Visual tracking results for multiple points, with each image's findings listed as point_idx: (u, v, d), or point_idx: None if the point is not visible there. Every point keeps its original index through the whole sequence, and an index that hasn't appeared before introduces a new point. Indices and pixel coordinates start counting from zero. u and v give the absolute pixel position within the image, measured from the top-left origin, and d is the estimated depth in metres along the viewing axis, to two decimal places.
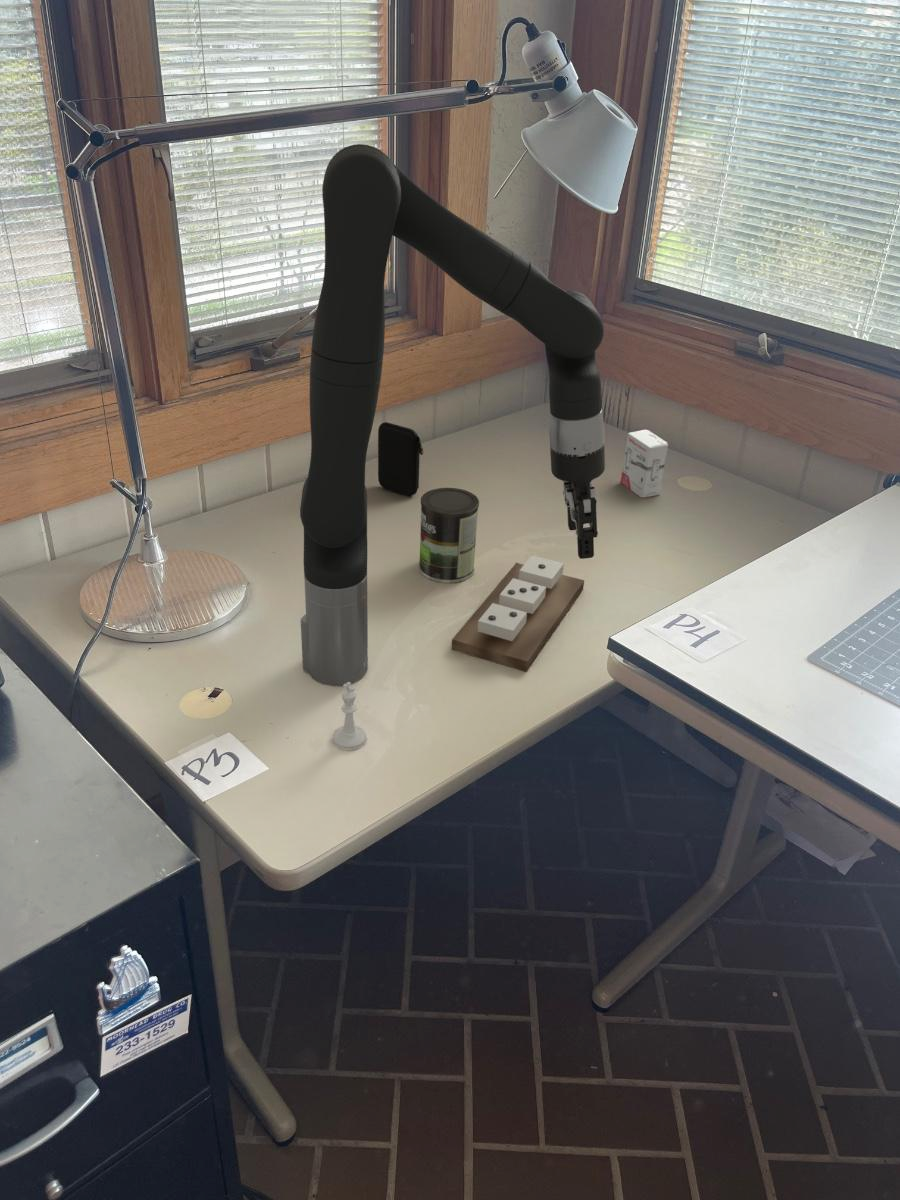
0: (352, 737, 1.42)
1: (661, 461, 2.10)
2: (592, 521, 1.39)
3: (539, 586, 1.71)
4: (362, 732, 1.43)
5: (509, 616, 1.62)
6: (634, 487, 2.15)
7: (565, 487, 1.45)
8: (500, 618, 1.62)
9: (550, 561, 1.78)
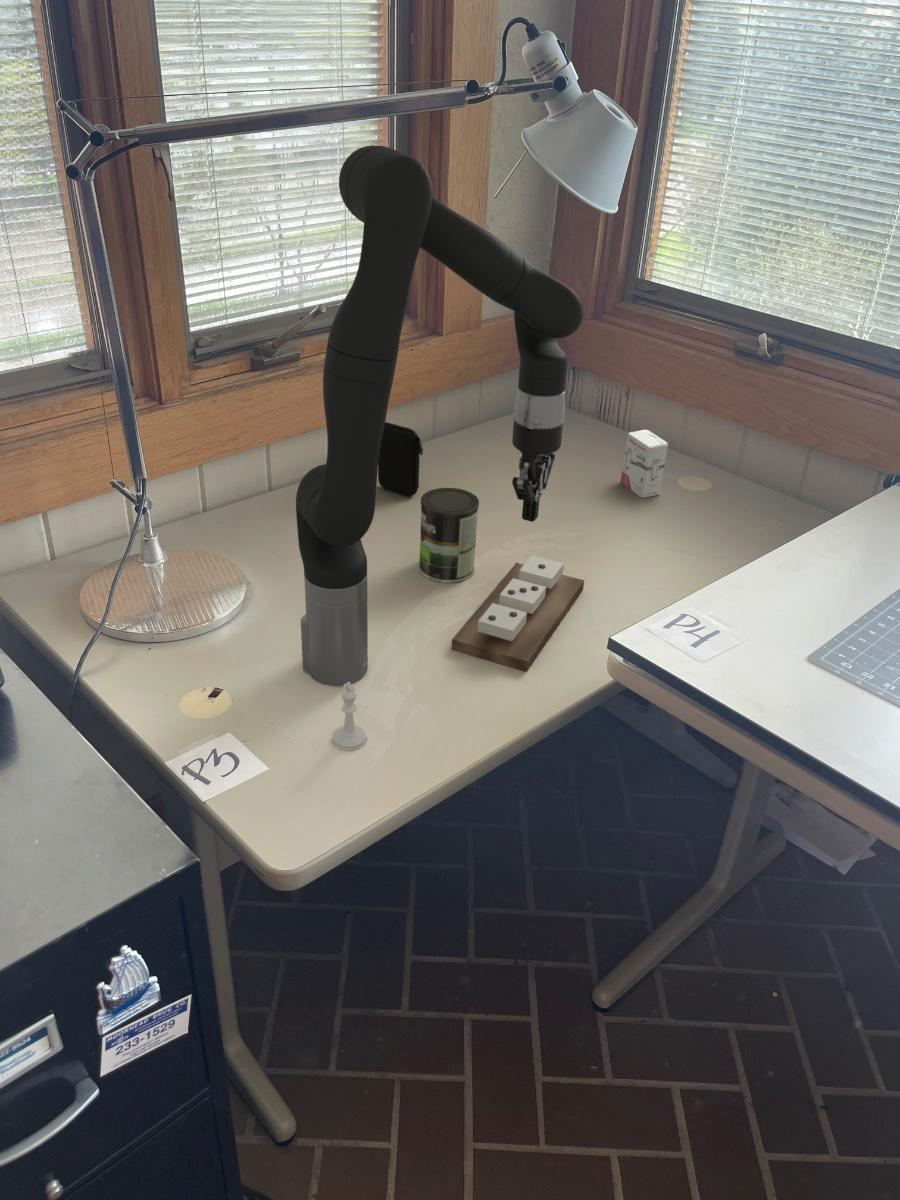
0: (352, 737, 1.42)
1: (661, 461, 2.10)
2: (526, 494, 1.55)
3: (539, 586, 1.71)
4: (362, 732, 1.43)
5: (509, 616, 1.62)
6: (634, 487, 2.15)
7: None
8: (500, 618, 1.62)
9: (550, 561, 1.78)
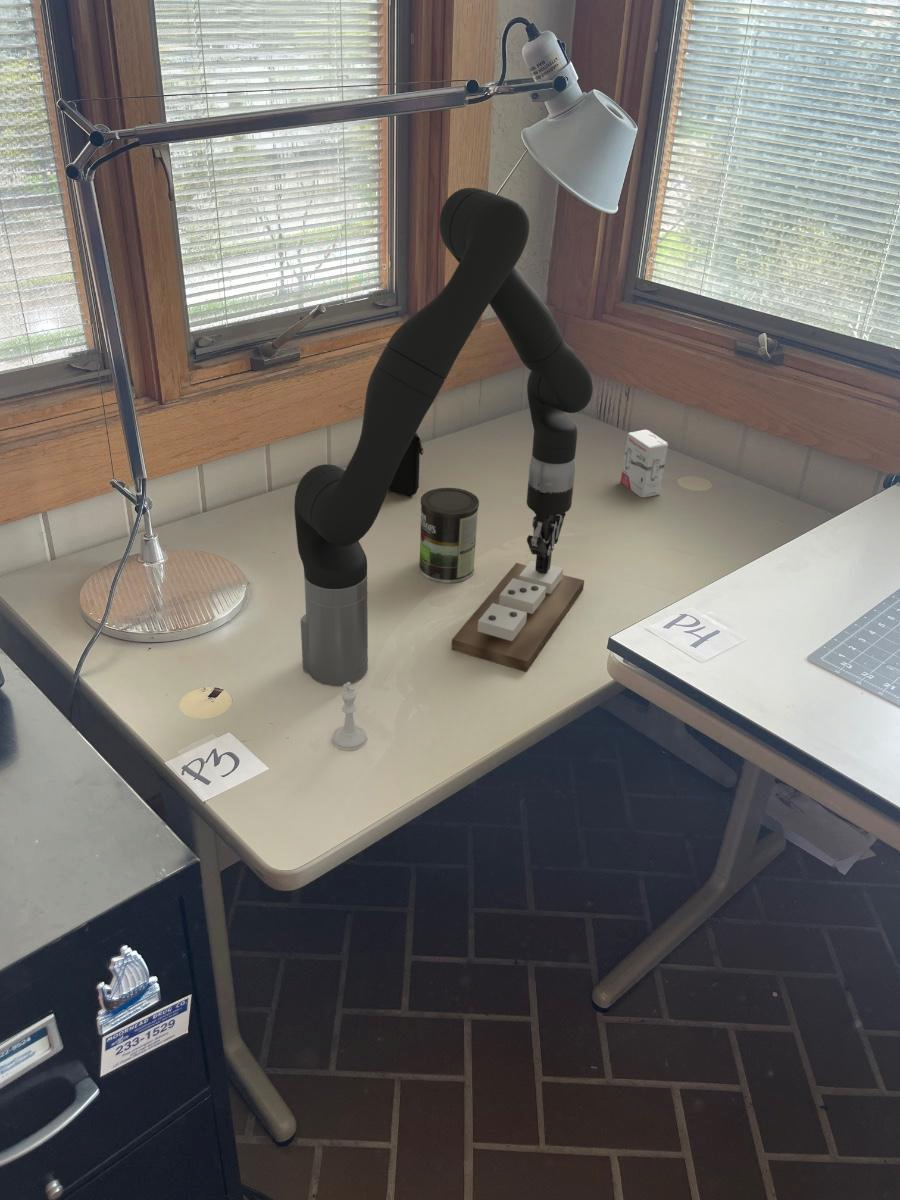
0: (352, 737, 1.42)
1: (661, 461, 2.10)
2: (539, 551, 1.70)
3: (539, 586, 1.71)
4: (362, 732, 1.43)
5: (509, 616, 1.62)
6: (634, 487, 2.15)
7: None
8: (500, 618, 1.62)
9: None
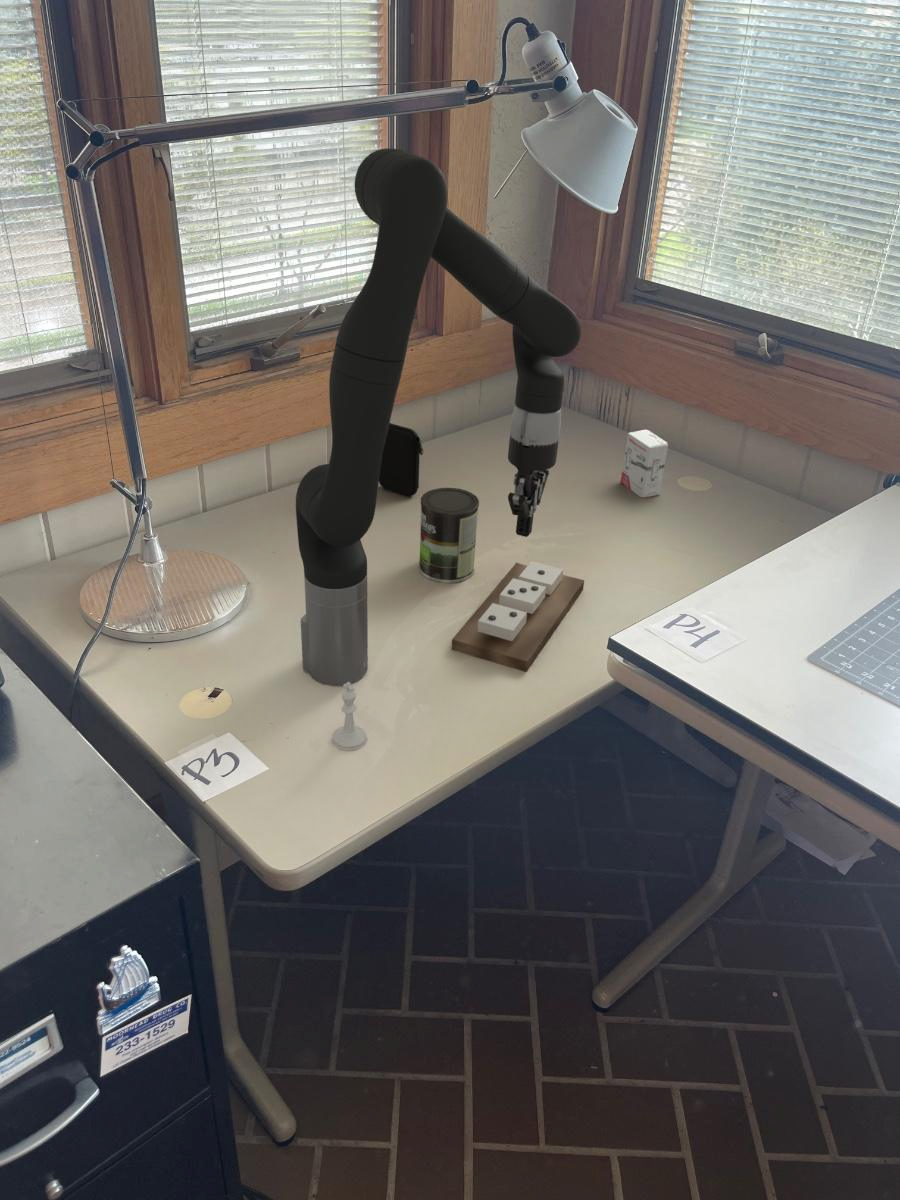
0: (352, 737, 1.42)
1: (661, 461, 2.10)
2: (521, 510, 1.57)
3: (539, 586, 1.71)
4: (362, 732, 1.43)
5: (509, 616, 1.62)
6: (635, 487, 2.15)
7: None
8: (500, 618, 1.62)
9: (549, 566, 1.79)
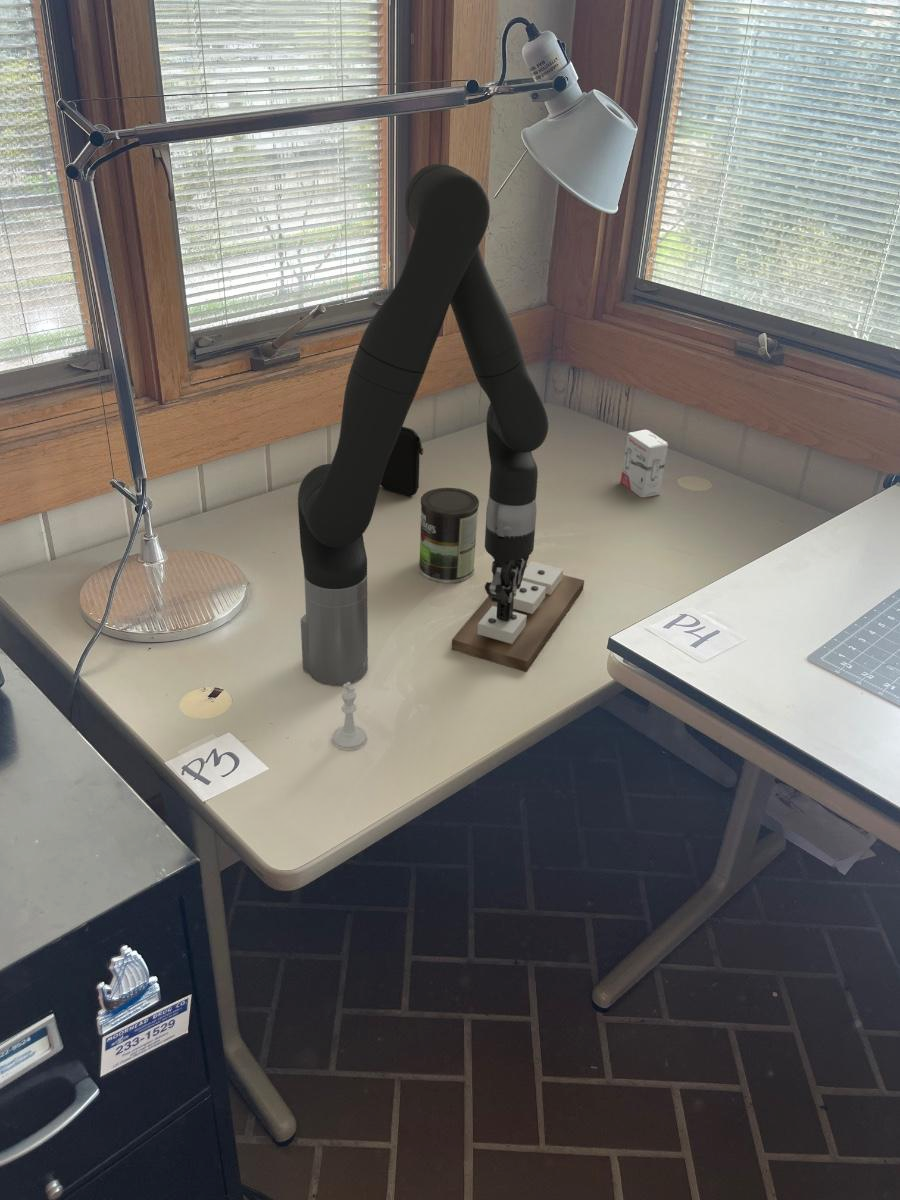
0: (352, 737, 1.42)
1: (661, 461, 2.10)
2: (499, 598, 1.56)
3: (539, 586, 1.71)
4: (362, 732, 1.43)
5: None
6: (634, 487, 2.15)
7: None
8: (500, 621, 1.62)
9: (549, 566, 1.79)
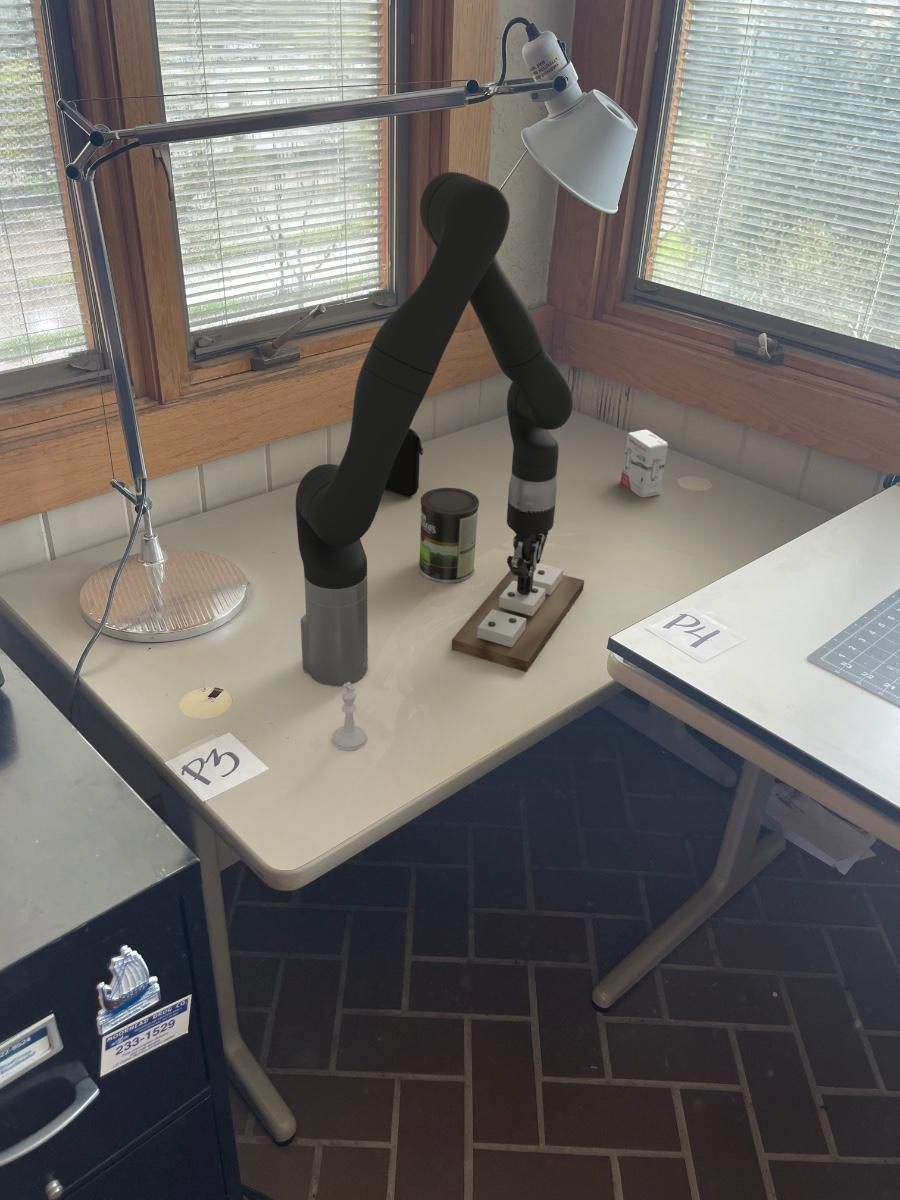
0: (352, 737, 1.42)
1: (661, 461, 2.10)
2: (520, 572, 1.62)
3: (539, 588, 1.71)
4: (362, 732, 1.43)
5: (508, 622, 1.63)
6: (634, 487, 2.15)
7: None
8: (500, 625, 1.62)
9: (549, 566, 1.79)
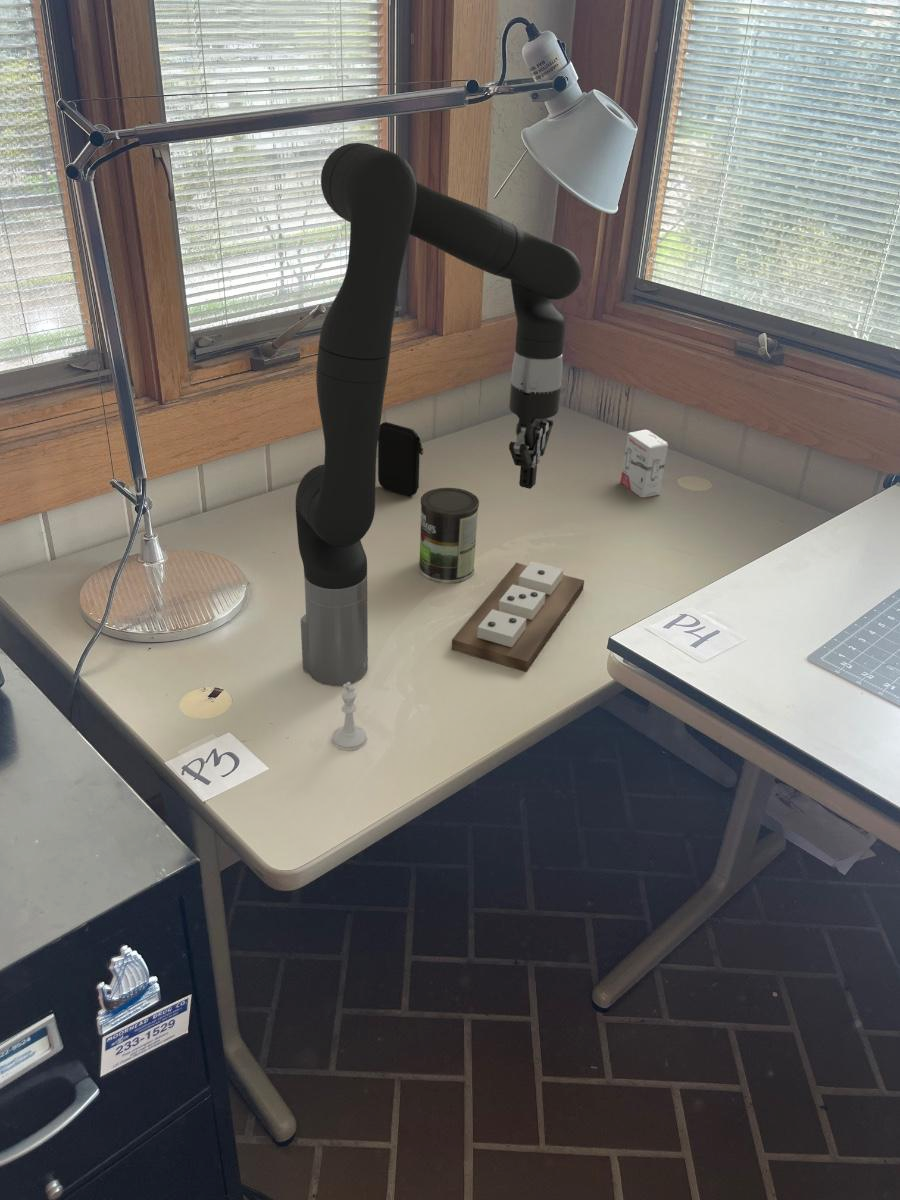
0: (352, 737, 1.42)
1: (661, 461, 2.10)
2: (523, 460, 1.54)
3: (538, 592, 1.71)
4: (362, 732, 1.43)
5: (508, 622, 1.63)
6: (635, 487, 2.15)
7: None
8: (500, 625, 1.62)
9: (549, 566, 1.79)
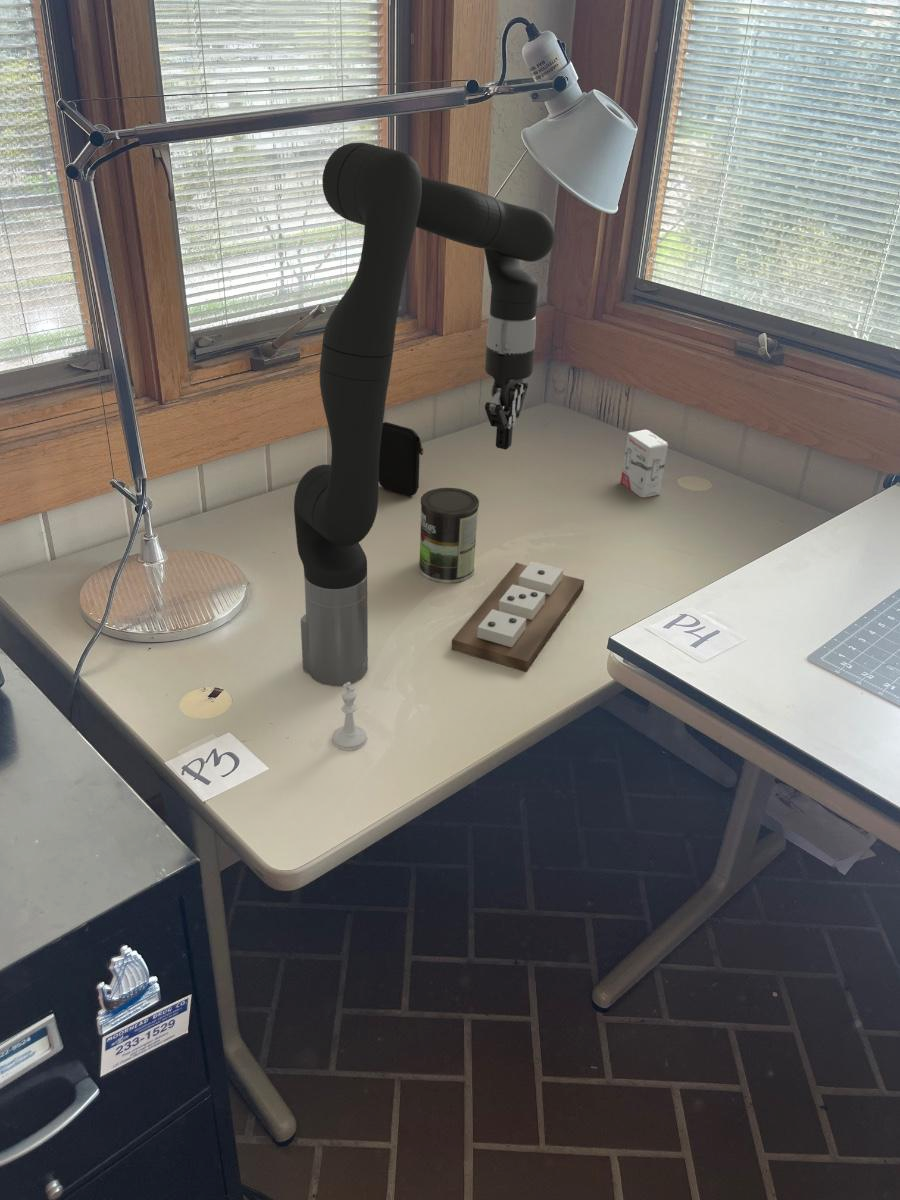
0: (352, 737, 1.42)
1: (661, 461, 2.10)
2: (499, 420, 1.59)
3: (538, 592, 1.71)
4: (362, 732, 1.43)
5: (508, 622, 1.63)
6: (635, 487, 2.15)
7: None
8: (500, 625, 1.62)
9: (549, 566, 1.79)
